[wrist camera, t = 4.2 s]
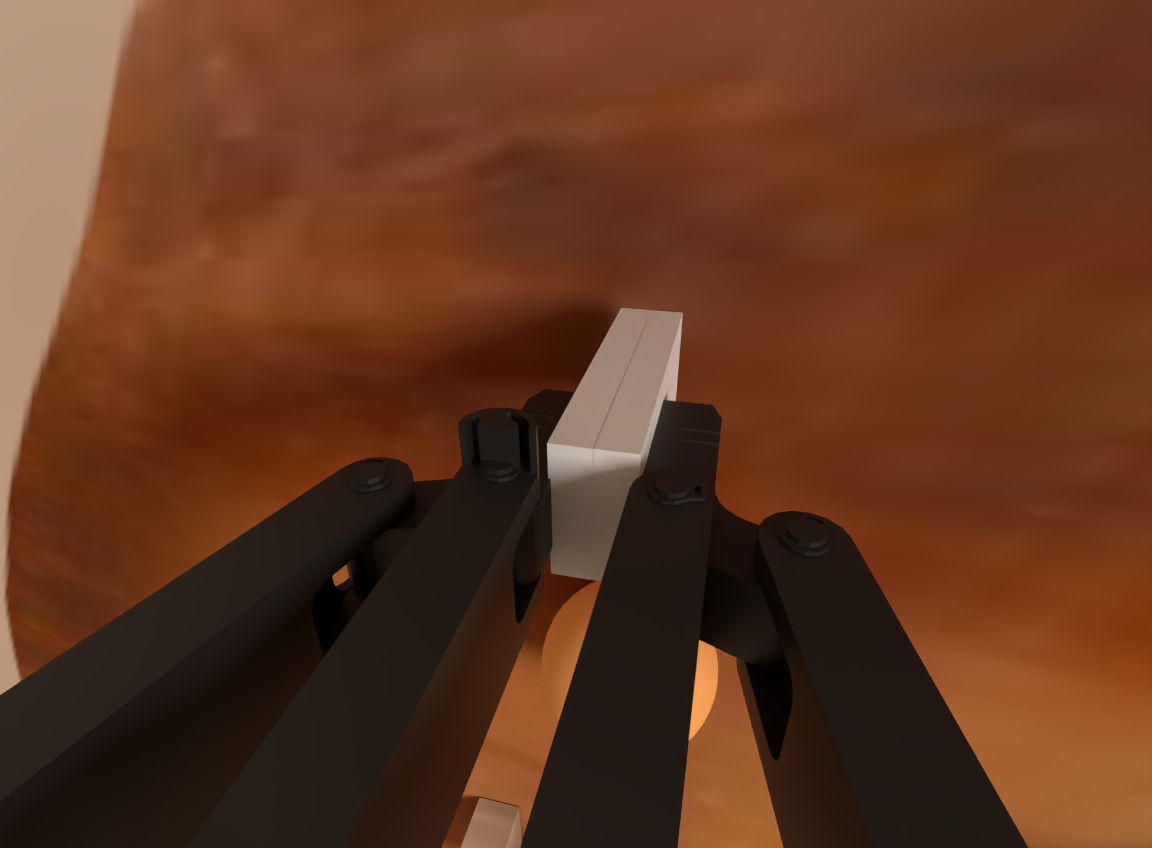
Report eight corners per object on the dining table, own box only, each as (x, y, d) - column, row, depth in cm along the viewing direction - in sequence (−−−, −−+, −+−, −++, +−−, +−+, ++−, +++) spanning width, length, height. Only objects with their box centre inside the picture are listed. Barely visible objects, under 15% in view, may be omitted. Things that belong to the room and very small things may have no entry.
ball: (713, 671, 23) (702, 822, 19) (567, 643, 25) (522, 779, 20) (730, 553, 21) (722, 697, 16) (565, 528, 22) (513, 655, 17)
